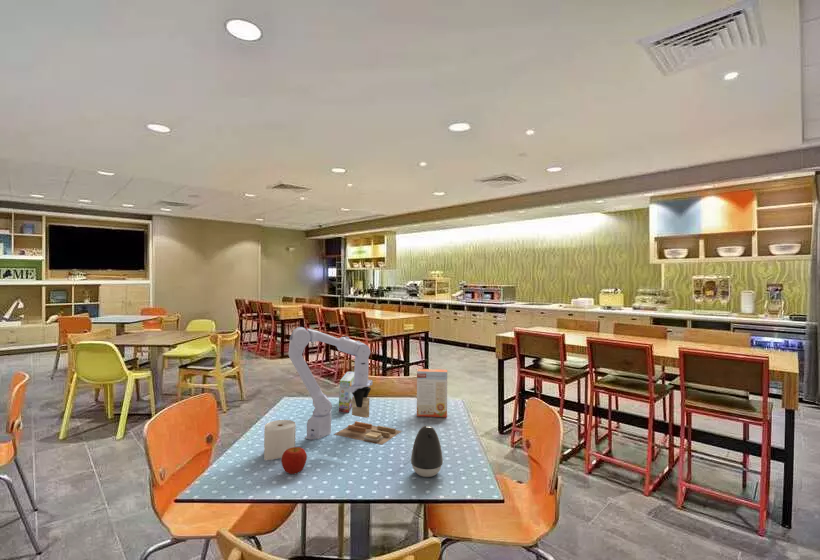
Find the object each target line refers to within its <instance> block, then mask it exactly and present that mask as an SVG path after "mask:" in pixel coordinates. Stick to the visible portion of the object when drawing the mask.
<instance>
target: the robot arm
mask: <svg viewBox="0 0 820 560" xmlns="http://www.w3.org/2000/svg"><path fill="white" fill-rule="evenodd" d="M310 342H311V343H313V344H314V343H315V342H321V343H324V344H328V345H332V346H335V347H336V349H337V350H338V351H339V352H342V353H344V354H348V355H351V356H354V369H353V372H354V384H353V385H352V386H350V387H349V392H352V394H353V396H354V398H355V402H356V406H357V407H362V402H363V397H366V398H368V396H369V393H370V391H371V389H372V388H371V386H373V380H372V379H369V365H370V364H369V357H370V355H371V353H372V352H371V349H370V346H369V345H367V344H366V343H364V342H361V341H360V340H354V339H351V338H350V337H349V336H346V335H345V336H341V337H339V338H338V337H335V336H333V335H329V334H328V333H324V332H321V331H319V330H317V329H313V328H305V327H303V326H298V327H295V328H294V329H293V330H292V332H291V335H290V336H289V345H288V354H287V355H288V357H289V359H290V361H291V363H292V365H293V367H294V368H295V370H296V372H297V373H298V375H299V378H300V380H301V381H302V383H303V384H304V386H305V389H306V390H307V392H308V394H309V395H310V397H311V399H312V405H313V407H314V409H313V411H312V415H311V417H309V419H307V422H306V436H305V437H304V438H305V439H306V440H310V441H313V440H315V439H317V440H320V439H321V438H324V437H327V436H329V435H330V434H332V410H333V409H332V408H333V405H332V402H331V401H330V400H329V397H328V395H327V394H325V393H323V391H322V389H321V387H320V385H319V384H318V382H317V380H316V378H315V376H314V375H313V373H312V370H311V369H310V367H309V365H308V363H307V362H306V361H305V358H304V356H303V353H304V350H305V348H306V347H307V346H308V344H309V343H310Z"/></svg>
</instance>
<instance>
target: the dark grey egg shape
mask: <svg viewBox="0 0 820 560" xmlns="http://www.w3.org/2000/svg"><path fill="white" fill-rule="evenodd" d="M412 445H413V446H412V449H411V454H410V463H411V465H412V469H413V471H414V472H415V473H416V474H417V475H418V476H420V477H423V478H432V477H434V476H437V474H438V473H439V472H440V471H441V468H442V466H443V463H444V462H443V461H444V459H443V451H442V445H441V441H440V439H439V435H438V434H437V431H436V430H435V428H434V427H433V426H431V425H424V426H422V427H421V428H420V429H419V430H418V431H417V433H416V436H415V439H414V442H413V444H412Z"/></svg>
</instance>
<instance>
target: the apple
mask: <svg viewBox="0 0 820 560" xmlns="http://www.w3.org/2000/svg"><path fill="white" fill-rule="evenodd" d="M307 457H308V455H307V451H306V450H305V448H302V447H300V446H299V447H298V446H295V447H293V448H289V449H287V450H286V451H285V452H284V453H283V455H282V458H280V461H281V466H282V469H283V470H284V472H285V473H287V474H289V475H296V474H299V473H300V472H302V471H303V470H304V468H305V465H306V463H307V459H308V458H307ZM298 472H299V473H298ZM295 473H296V474H295Z"/></svg>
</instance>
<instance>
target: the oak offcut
mask: <svg viewBox="0 0 820 560" xmlns="http://www.w3.org/2000/svg"><path fill="white" fill-rule="evenodd" d="M381 436H382V434H380V433H375V432H369V433H367V434H365V437H367V438H372V439H378V438H380V437H381Z"/></svg>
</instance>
